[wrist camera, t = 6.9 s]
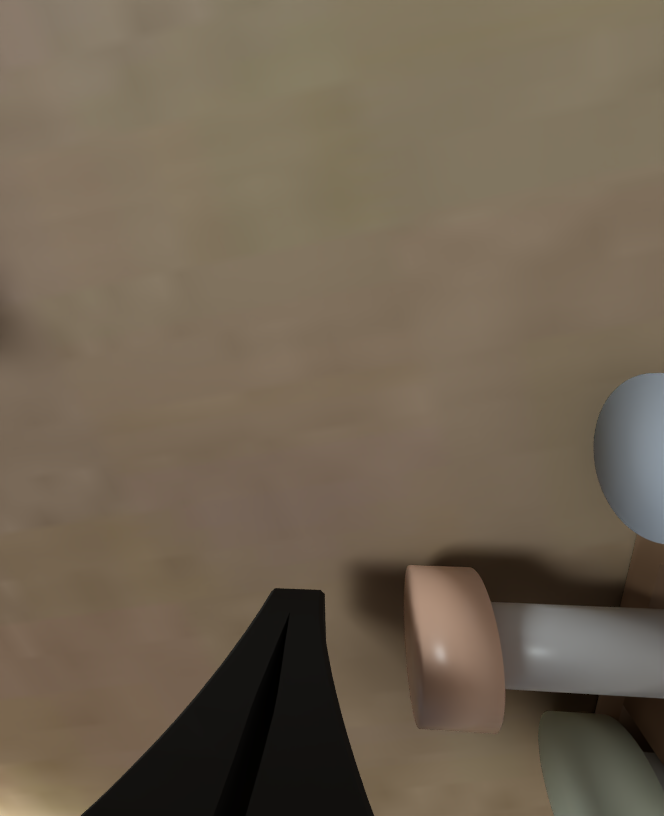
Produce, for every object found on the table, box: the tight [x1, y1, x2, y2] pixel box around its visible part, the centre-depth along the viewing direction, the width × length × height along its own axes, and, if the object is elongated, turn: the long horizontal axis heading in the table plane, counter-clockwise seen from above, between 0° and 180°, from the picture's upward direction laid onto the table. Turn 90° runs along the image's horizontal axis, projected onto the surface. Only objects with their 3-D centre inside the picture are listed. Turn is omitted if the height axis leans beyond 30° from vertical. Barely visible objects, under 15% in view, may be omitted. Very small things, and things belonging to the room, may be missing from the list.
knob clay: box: [404, 565, 664, 734], centre depth 9 cm, size 7×3×3 cm, turn 91°
